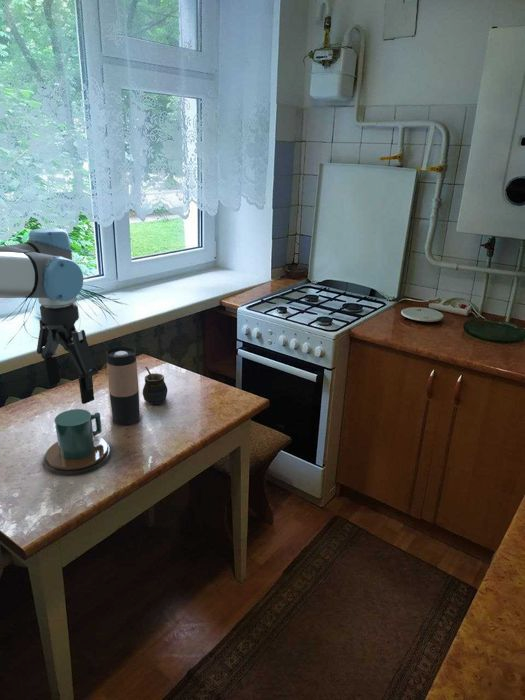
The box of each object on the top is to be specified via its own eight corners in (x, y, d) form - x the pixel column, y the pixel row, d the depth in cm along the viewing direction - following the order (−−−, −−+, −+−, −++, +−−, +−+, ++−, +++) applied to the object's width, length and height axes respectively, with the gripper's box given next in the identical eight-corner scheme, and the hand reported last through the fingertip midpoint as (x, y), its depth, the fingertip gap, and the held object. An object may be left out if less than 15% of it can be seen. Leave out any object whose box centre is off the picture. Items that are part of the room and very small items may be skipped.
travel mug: (107, 417, 137) (100, 350, 130) (131, 409, 142) (126, 344, 134) (120, 428, 132) (114, 359, 124) (145, 419, 137) (141, 352, 129)
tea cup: (67, 478, 110) (62, 440, 106) (34, 454, 118) (28, 418, 114) (119, 451, 120) (116, 415, 117) (85, 431, 128) (81, 397, 125)
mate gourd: (156, 409, 142) (154, 378, 139) (136, 402, 146) (134, 371, 142) (172, 400, 148) (171, 369, 144) (154, 393, 152) (152, 363, 148)
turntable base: (67, 483, 110) (67, 480, 109) (31, 458, 118) (31, 455, 118) (123, 454, 121) (122, 451, 120) (86, 433, 129) (86, 430, 129)
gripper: (109, 311, 101) (118, 403, 109) (43, 289, 115) (55, 372, 123) (76, 320, 95) (88, 416, 103) (11, 295, 109) (26, 382, 117)
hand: (70, 392), depth 113 cm, fingers open, 13 cm apart
